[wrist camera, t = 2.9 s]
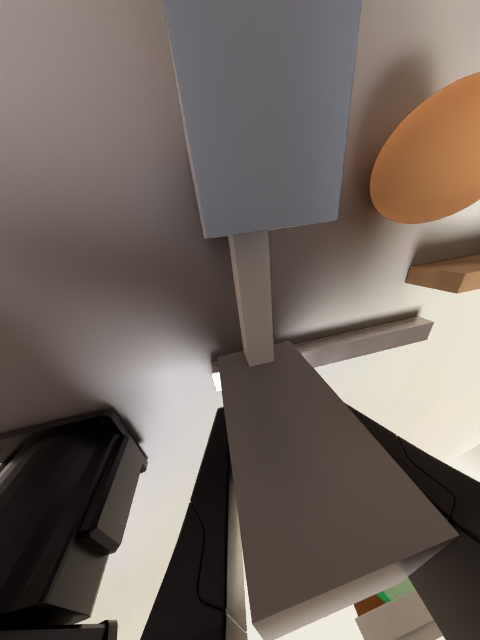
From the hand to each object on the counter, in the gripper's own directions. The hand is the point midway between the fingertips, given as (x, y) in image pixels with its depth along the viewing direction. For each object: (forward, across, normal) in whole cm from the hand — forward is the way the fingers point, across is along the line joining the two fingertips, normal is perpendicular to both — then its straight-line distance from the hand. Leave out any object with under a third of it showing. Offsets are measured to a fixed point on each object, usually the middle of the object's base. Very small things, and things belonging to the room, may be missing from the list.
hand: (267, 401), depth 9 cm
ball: (+1, -8, -9) cm, 12 cm away
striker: (+3, 0, -4) cm, 5 cm away
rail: (+3, -5, 0) cm, 6 cm away
